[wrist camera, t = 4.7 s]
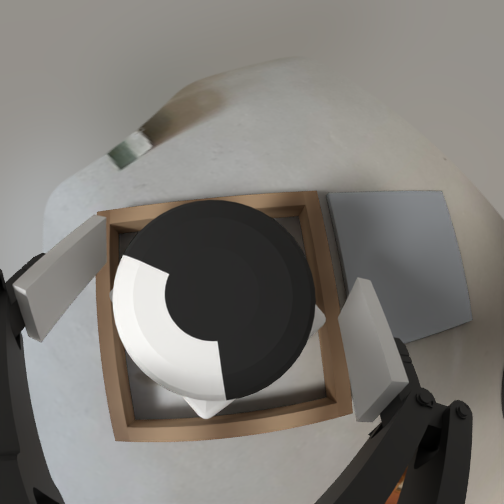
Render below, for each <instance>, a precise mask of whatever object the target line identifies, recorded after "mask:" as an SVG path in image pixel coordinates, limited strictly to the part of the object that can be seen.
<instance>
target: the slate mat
mask: <svg viewBox="0 0 504 504" xmlns="http://www.w3.org/2000/svg"><path fill="white" fill-rule="evenodd" d="M326 197H327V201H328V206H329V210H330V214H331V219H332V223H333V228H334V232H335V237H336V242H337V247H338V252H339V257H340V262H341V267H342V272H343V278H344V283H345V289H346V295H347V298H348V296H349V294H350V292H351V290H352V288H353V286H354V283H355V281H356V279H357V277H359V278H363V279H367V280H370V281H371V283H372V285H373V288H374V290H375V292H376V295H377V297H378V300H379V302H380V304H381V307H382V309H383V312H384V314H385V317H386V320H387V322H388V325H389V327H390V330H391V333H392V335H393V337H395V338H400V339H401V341H402V342H403V343H408V342H411V341H414V340H417V339H421V338H424V337H427V336H430V335H433V334H436V333H439V332H441V331H444V330H447V329H450V328H453V327H455V326H458V325H461V324H464V323H466V322H469V321H471V320H472V313H471V306H470V300H469V294H468V288H467V283H466V278H465V273H464V268H463V264H462V259H461V255H460V251H459V247H458V243H457V239H456V235H455V232H454V228H453V224H452V221H451V218H450V214H449V211H448V208H447V205H446V202H445V199H444V196H443V193H442V191H375V192H340V193H328V194H327V195H326Z"/></svg>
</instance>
